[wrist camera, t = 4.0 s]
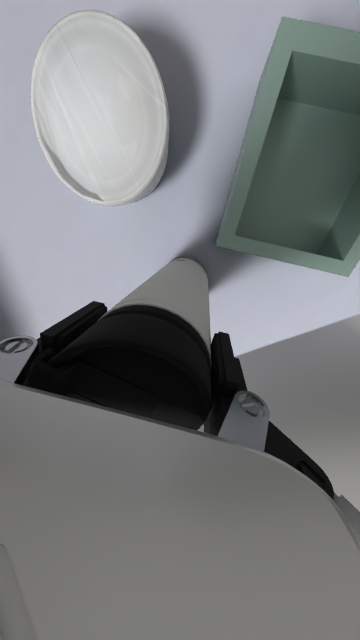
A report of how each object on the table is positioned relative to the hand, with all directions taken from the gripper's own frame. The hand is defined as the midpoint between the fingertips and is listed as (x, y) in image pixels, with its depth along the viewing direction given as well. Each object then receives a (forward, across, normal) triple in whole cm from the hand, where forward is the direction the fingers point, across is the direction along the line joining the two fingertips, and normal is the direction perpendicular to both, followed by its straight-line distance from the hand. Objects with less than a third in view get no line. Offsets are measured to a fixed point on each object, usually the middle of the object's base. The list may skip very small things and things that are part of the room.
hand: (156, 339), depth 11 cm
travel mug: (+15, 0, 0) cm, 15 cm away
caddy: (+15, -9, -12) cm, 21 cm away
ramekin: (+15, +9, -12) cm, 21 cm away
